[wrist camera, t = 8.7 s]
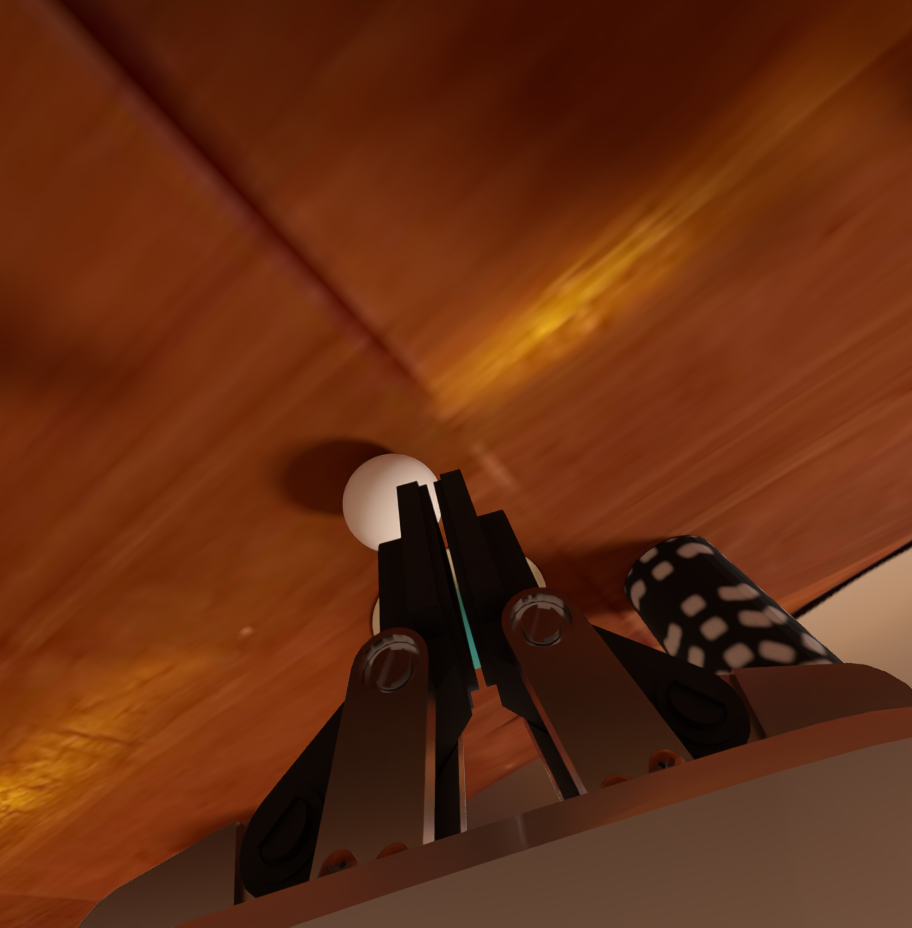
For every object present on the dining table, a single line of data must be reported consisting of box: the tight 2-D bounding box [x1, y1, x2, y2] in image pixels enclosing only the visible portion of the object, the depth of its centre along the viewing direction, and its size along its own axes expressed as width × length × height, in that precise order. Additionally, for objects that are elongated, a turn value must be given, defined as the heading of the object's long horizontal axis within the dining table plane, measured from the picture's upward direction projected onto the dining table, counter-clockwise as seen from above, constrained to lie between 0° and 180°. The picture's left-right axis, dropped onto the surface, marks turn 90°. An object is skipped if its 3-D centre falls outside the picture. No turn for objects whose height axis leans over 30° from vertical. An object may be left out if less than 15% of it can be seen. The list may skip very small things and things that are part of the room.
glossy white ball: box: [343, 454, 441, 551], centre depth 23 cm, size 6×6×6 cm
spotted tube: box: [624, 536, 843, 675], centre depth 27 cm, size 8×8×20 cm
